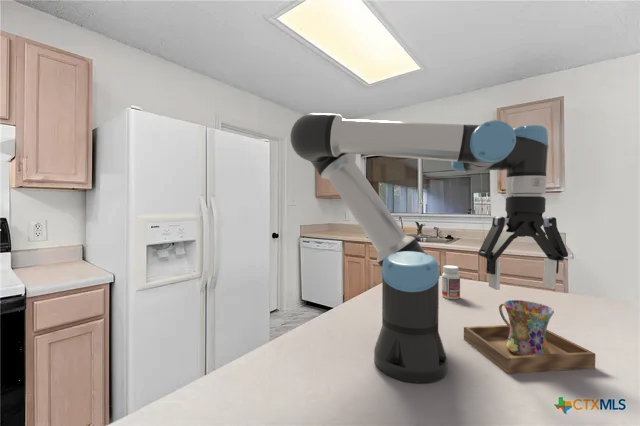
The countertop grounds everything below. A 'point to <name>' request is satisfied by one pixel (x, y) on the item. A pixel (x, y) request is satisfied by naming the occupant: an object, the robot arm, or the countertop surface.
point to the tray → (561, 356)
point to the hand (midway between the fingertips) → (521, 287)
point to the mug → (527, 327)
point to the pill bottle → (451, 282)
